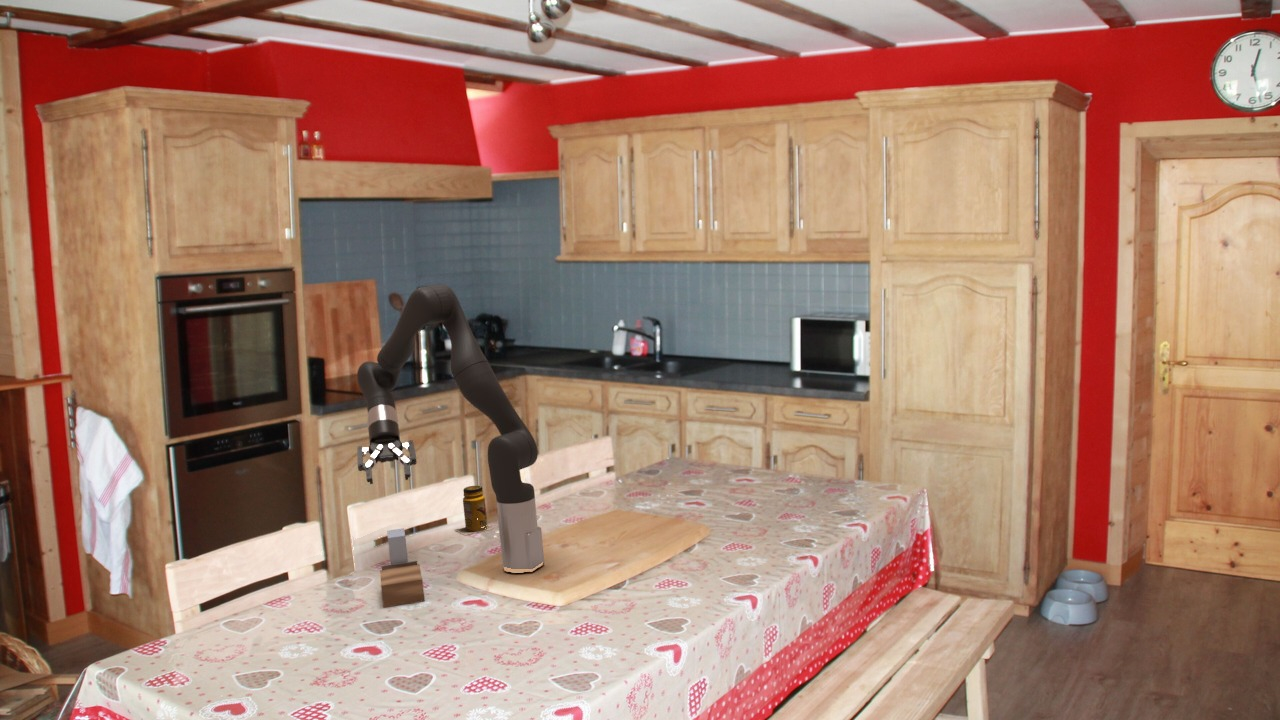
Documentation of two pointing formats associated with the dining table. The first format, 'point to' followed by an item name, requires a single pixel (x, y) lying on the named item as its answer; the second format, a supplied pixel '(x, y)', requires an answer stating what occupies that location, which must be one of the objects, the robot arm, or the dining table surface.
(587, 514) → the dining table surface
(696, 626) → the dining table surface
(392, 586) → the wooden grain block
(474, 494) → the condiment
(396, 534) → the tall grey pillar
